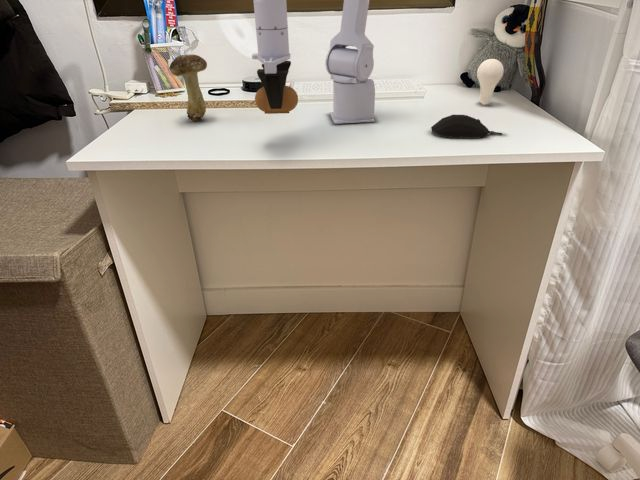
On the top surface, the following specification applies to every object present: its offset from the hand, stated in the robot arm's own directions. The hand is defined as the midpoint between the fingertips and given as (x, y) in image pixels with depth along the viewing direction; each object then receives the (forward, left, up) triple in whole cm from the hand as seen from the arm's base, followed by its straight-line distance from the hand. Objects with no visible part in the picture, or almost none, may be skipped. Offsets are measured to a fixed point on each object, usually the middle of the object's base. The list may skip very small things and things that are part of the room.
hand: (277, 104), depth 86 cm
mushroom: (+19, -20, -9) cm, 29 cm away
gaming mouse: (-40, 0, -9) cm, 41 cm away
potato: (0, 0, -1) cm, 1 cm away
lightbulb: (-53, -20, -9) cm, 57 cm away
